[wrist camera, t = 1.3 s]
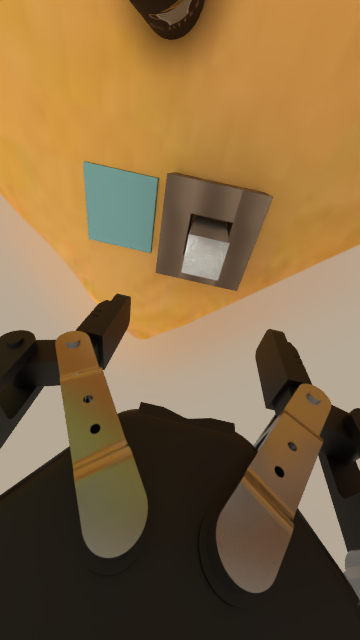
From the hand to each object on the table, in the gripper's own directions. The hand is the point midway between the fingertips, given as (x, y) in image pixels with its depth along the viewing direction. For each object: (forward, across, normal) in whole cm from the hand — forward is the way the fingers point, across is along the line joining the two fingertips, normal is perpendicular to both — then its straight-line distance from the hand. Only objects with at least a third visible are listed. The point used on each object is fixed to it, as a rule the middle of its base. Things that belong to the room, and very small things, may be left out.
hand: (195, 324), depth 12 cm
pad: (+23, +13, 0) cm, 27 cm away
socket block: (+23, 0, 0) cm, 23 cm away
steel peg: (+23, 0, 0) cm, 23 cm away
